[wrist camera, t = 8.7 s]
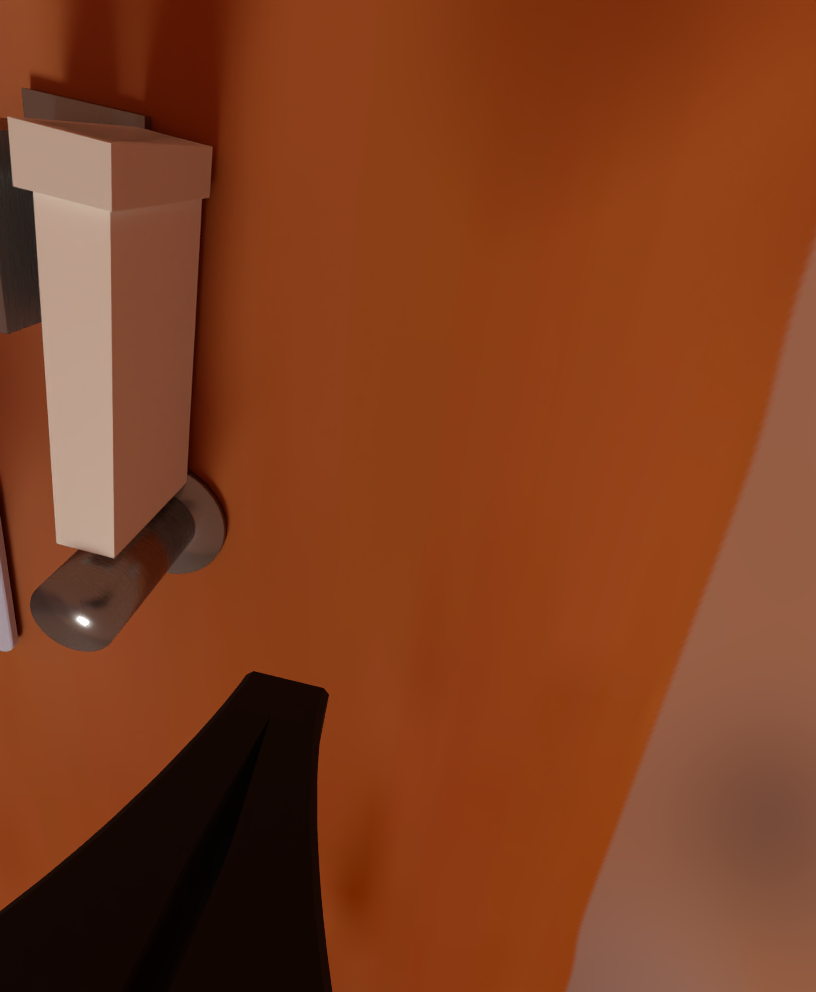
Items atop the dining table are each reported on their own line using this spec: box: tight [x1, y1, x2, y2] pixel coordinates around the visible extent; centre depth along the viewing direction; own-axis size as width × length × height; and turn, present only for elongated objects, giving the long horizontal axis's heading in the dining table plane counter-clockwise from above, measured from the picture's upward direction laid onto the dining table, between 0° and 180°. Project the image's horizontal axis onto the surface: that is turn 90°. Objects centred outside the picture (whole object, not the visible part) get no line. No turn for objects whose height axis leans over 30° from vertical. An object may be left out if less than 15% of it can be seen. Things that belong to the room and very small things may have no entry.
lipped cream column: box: [7, 116, 213, 558], centre depth 16 cm, size 10×2×5 cm, turn 167°
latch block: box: [0, 88, 150, 334], centre depth 15 cm, size 3×5×5 cm, turn 169°
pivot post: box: [30, 470, 227, 652], centre depth 20 cm, size 4×4×6 cm
